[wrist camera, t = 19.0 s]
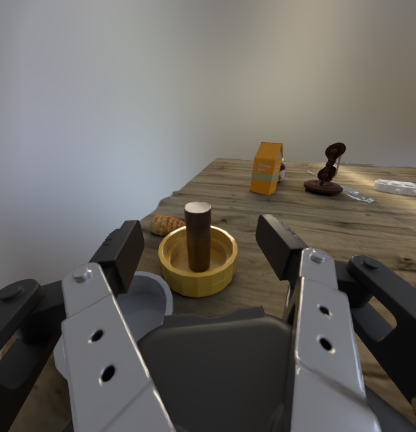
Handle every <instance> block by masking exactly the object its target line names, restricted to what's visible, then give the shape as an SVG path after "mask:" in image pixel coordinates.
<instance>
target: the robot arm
mask: <svg viewBox="0 0 416 432" xmlns="http://www.w3.org/2000/svg"><path fill="white" fill-rule="evenodd" d="M256 241H257V243H258V245H259V247H260V248H261V250H262V252H263V253H264V255H265V257H266V258H267V260H268V262H269V263H270V265H271V267H272V268H273V270H274V272H275V273H276V275H277V277H278V278H279V280H280V281H282V280H288V281H289V282H290V283H289V286H288V291H287V296H286V302H285V307H284V313H283V317H282V319H280V318H277V317H275V316H272V315H269V314H265V312H264V310H263V308H262V306H252V307H243V308H237V309H235V310H232V311H230V312H228V313H225V314H223V315H220V316H218V317H210V316H204V315H198V314H192V313H185V314H175V315H166V316H164V319H163V325H160V326H158V327H156V328H154V329H152V330H151V331H149V332H148V333H147V334H145V335H144V336H143V337H142V338H140V339H139V340H138V341H137V342H136V343H135V341H134V338H133V336H132V334H131V332H130V330H129V327H128V325H127V323H126V321H125V319H124V316H123V314H122V312H121V310H120V308H119V305H118V303H117V301H116V300H117V297H118V295H119V294H127V293H128V290H129V287H130V284H131V282H132V279H133V276H134V274H135V271H136V268H137V266H138V263H139V260H140V257H141V255H142V252H143V249H144V238H143V233H142V229H141V225H140V222H139V220H130V221H125V222H124V223H123V225H122V226H121V228H120V229H116V230H114V231H113V232H112V233H110V234H109V236H108V237H107V238H106V239H105V241H104V242H103V244H102V246H100V248H99V249H98V250H97V252H96V253H95V254H94V256H93V257H92V258H91V260H90V261H89V262H88V263H86V264H82V265H80V266H78V267H76V268H74V269H72V270H71V271H70V272H68V273H67V274H66V275H65V276H64V278H63V279H62V280H61V281H57V282H54V283H50V284H47V285H44V286H40V285H39V283H38V282H37V281H36V280H34V279H26V280H21V281H18V282H15V283H13V284H10V285H8V286H6V287H5V288H3V289H1V290H0V350H1V349H2V348H3V347H4V345H5V344H6V343H7V341H8V340H9V339H10V338H11V336H12V335H13V334H14V335H15V336H16V337H17V339H16V341H15V342H14V343H13V345H12V346H11V347H10V349H9V350H8V351H7V353H6V354H5V355H4V357H3V358H2V359H1V360H0V432H8V430H9V429H10V427H11V425H12V423H13V421H14V420H15V418H16V416H17V414H18V413H19V411H20V409H21V407H22V405H23V404H24V402H25V400H26V398H27V396H28V395H29V393H30V391H31V389H32V387H33V386H34V384H35V382H36V380H37V378H38V377H39V375H40V373H41V371H42V369H43V368H44V366H45V364H46V362H47V360H48V359H49V357H50V355H51V353H52V352H53V350H54V348H55V346H56V344H57V343H58V341H59V339H60V337H61V335H62V337H63V345H64V353H65V362H66V370H67V378H68V386H69V394H70V403H71V411H72V419H73V420H72V421H71V422H70V423H69V424H68V426H67V427H66V428H65V429H64V431H63V432H416V421H415V422H414V424H413V423H412V422H411V421H410V420H408V419H407V418H406V417H405V416H403V415H402V414H401V413H400V412H398V411H397V410H396V409H395V408H393V407H392V406H391V405H390V404H388V403H387V402H386V401H385V400H383V399H382V398H381V397H380V396H379V395H377V394H376V393H375V392H374V391H372V390H371V389H370V388H369V387H367V386H366V385H365V384H364V383H363V377H362V372H361V366H360V361H359V356H358V350H357V345H356V339H355V334H354V331H355V332H356V334H357V335H358V336H359V337H360V339H361V340H362V341H363V343H364V344H365V345H366V347H367V348H368V349H369V351H370V352H371V353H372V355H373V356H374V357H375V358H376V360H377V361H378V362H379V364H380V365H381V366H382V368H383V369H384V370H385V372H386V373H387V374H388V376H389V377H390V378H391V379H392V381H393V382H394V383H395V385H396V386H397V387H398V389H399V390H400V391H401V393H402V394H403V395H404V397H405V398H406V399H407V400H408V402H409V403H410V404H411V406H412V409H413V412H414V414H415V416H416V288H414V287H413V286H412V285H410V284H409V283H408V282H406V281H405V280H403V279H402V278H401V277H399V276H398V275H397V274H395V273H394V272H393V271H391V270H390V269H389V268H387V267H386V266H385V265H383V264H382V263H380V262H379V261H377V260H375V259H372V258H370V257H367V256H363V255H354V256H352V257H351V259H350V260H349V262H343V261H337V260H333V258H332V257H331V256H330V255H329V254H327V253H326V252H324V251H322V250H319V249H316V248H309V247H308V246H307V245H306V244H305V243H304V242H303V241H302V240H301V239H300V238H299V237H298V236H297V235H295V233H294V232H293V231H291V229H290V228H289V227H288V226H287V225H286V224H284V223H282V222H280V221H278V220H277V219H276V218H275V217H274V216H273V215H272V214H269V215H260V216H259V219H258V224H257V229H256ZM373 296H375V297H376V298H377V299H378V300H379V301H380V302H381V303H382V304H383V305H384V306H385V307H386V308H387V309H388V310H389V311H390V312H391V313H392V314H393V315H394V317H395V319H396V321H397V326H396V328H395V329H393V328H392V327H391V326H390V325H389V324H388V323H387V322H386V321H385V320H384V319H383V317H382V316H381V315H380V314H379V313H378V312H377V311H376V310H375V309H374V308H373V307H372V306H371V305H370V304H369V303H368V302H369V300H370V299H371V298H372V297H373Z"/></svg>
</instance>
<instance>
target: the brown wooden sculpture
mask: <svg viewBox="0 0 416 432" xmlns="http://www.w3.org/2000/svg"><path fill="white" fill-rule="evenodd" d="M345 150H346V146H345V145H344V144H343V143H335V144H332V145H330V146H329V147H328V148H327V149H326V151H325V154H326V156H327V158H328V162H327V163H326V167H324V168H323V169H321V170H320V171H319V172H318V179H319V180H309V181H306V182H304V187H305V188H306V191H307V190H308V189H310V190H313V191H317V192H322V193H330V196H333V194H336V193H341V192H342V190H343V188H342V187H341V186H340V185H338V184H336V183H333V182H330V181H331V180H332V178H334V177H335V176H336V174H337V171H338V167H339V162H340V159H341V156H342V154H343V153H344V152H345ZM338 157H339V162H338V165H337V169H336V168H335V167H334V166H333V165H334V163H335V162H336V159H337V158H338Z"/></svg>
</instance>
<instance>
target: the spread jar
mask: <svg viewBox="0 0 416 432" xmlns="http://www.w3.org/2000/svg"><path fill="white" fill-rule="evenodd" d="M283 161H284V159H282V163H281V167H280V171H279V177H278V180H277V183H279V182H281V181H282V180H283V178H284V174H285V165H284V164H283Z"/></svg>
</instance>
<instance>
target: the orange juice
mask: <svg viewBox="0 0 416 432" xmlns="http://www.w3.org/2000/svg"><path fill="white" fill-rule="evenodd" d="M282 153H283V152H282V144H281V143H265V142H261V144H260V147H259V149H258V151H257V154H256V156H255V159H254V166H253V172H252V180H251V188H250V191H253V192H256V193H260V194H264V195H268V196H269V195H270V194H272V193H273V192H274V191H275V189H276V185H277V180H278V177H279V171H280V167H281V163H282V158H283V154H282Z"/></svg>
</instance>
